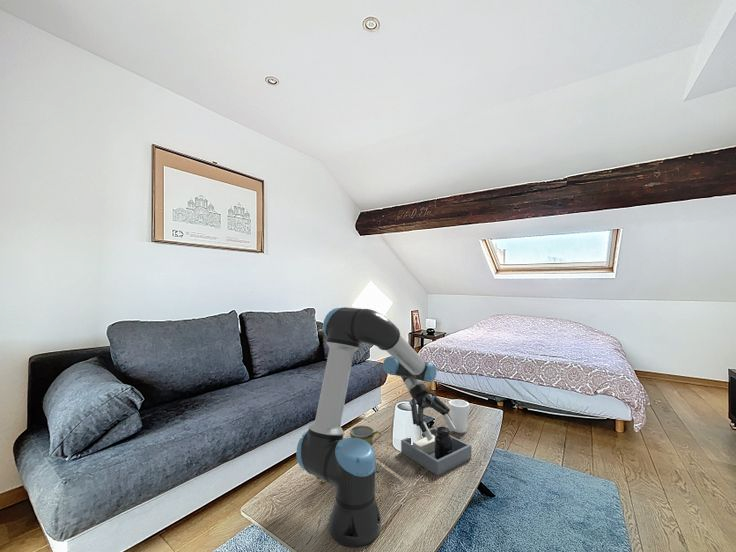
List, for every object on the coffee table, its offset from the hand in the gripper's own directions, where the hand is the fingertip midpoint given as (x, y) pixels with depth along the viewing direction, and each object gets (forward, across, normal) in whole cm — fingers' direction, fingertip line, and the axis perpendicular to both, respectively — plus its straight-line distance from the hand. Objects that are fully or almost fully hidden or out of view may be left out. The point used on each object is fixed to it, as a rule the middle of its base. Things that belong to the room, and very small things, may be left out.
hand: (442, 434), depth 127 cm
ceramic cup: (-8, +23, -23) cm, 33 cm away
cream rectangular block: (+1, +1, -12) cm, 12 cm away
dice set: (-5, +43, -21) cm, 48 cm away
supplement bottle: (+7, 0, -6) cm, 9 cm away
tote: (+5, +1, -10) cm, 11 cm away
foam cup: (-2, -27, -17) cm, 32 cm away
